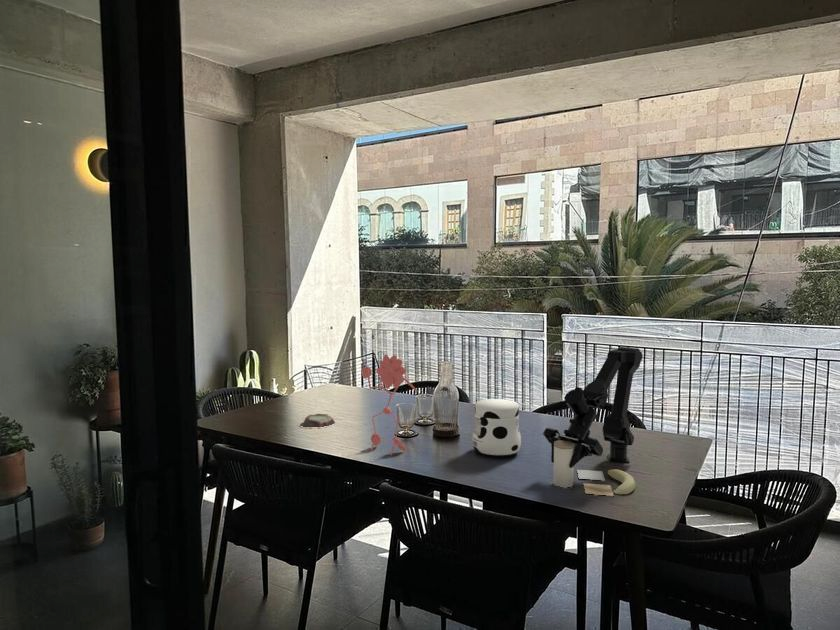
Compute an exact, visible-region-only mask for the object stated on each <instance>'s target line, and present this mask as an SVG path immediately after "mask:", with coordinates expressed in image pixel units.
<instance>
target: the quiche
mask: <svg viewBox="0 0 840 630" xmlns="http://www.w3.org/2000/svg"><path fill="white" fill-rule="evenodd" d="M302 422H303V423H302ZM302 422H300V423H301V424H300V423H299V424H300V426H303V427H324V426H329V425H332V424H334V425H335V424H336V421H335V420H334V418H333V417H332V416H331V415H329V414H328V413H315V414H309V415H307V416H306V417H305V418H304V420H303V421H302ZM300 426H299V427H300ZM332 426H333V425H332ZM303 427H302V428H303ZM329 427H330V426H329ZM324 428H325V427H324Z"/></svg>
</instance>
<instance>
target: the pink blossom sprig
mask: <svg viewBox="0 0 840 630" xmlns="http://www.w3.org/2000/svg"><path fill="white" fill-rule="evenodd" d="M402 364H403V360H402V359H401V358H397V355H396V354H393V355H392V356H391V357H390V356H388V354H384V355H383V359H380V361H379V366H380V367H379V368H377V369H376V373H377V375H379V376H380V379H379V381H380V382H381V383H383V384H382V385H381V386H371V380H370V379H371V378H370V377H371V376H372V373H373V371H372V368H370V367H369V366H368V365H367V366H365V367H363V368H362V369H361V376H362V378H364V379H367V381H368V388H369V389H380V390H383V391H385V392H387V394H389V398H388V403H387V406H385V407H384V408H383V410H382V412H379V413H377V414H376V415H373V416H372V424H373V425H372V426H373V430H374V433H372V435H371V436H370V441H371V443H372V444H371V448H370V451H371V452H372V451H373V449H374V446H375V447H377V446H378V445H380V444H381V442H383V443H384V442H385V443H386V442H387V443H388V442H389V443H393V445H392V449H391V452H390V456H393V453H394V449H395V446H397V447H398V448H399V449H400V450H402V451H403V452H404V453H405V452H406V448H405V445H406V443H405V442H403V441H400V439H398V437H397V436H398V419H397V418H396V417H395V416H394V414H393V413H392V412H391V408H390V406H389V405H390V402H391V398H392V396H394V394H395V393H396V392H397V390H398V388H399V387H400V386H401V384H403V383H404V381H405V383H406V384H408V386H409V387H411V388H412V390H414V391H415V392H417V393H418V392H419V390H417V388H416V387H415V385H413V384H412V383H411V382H410V381H409V380H408V379H406V378H405V377H404V375H405V374H406V373H407V370H406V368H405V367H404V366H402ZM392 386H393V387H394V388H395V389H393V392H391V391H390V390H388V389H390V388H391V387H392ZM383 413H384V414H385V415H389V414H391V416H392V418H394V420H395V422H396V423H395V424H396V425H395V426H396V427H395V436H394V437H393V438H392V441H390V440H383V441H382V438H381V435H380V434H379V433H377V431H376V427H375V421H374V420H375V419H374V418H375V417H377V416H379V415H381V414H383ZM407 444H408V443H407ZM408 446H410V447H412V445H410V444H408ZM405 458H406V459H407V456H406V457H404V459H405Z"/></svg>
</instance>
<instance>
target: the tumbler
mask: <svg viewBox="0 0 840 630" xmlns="http://www.w3.org/2000/svg"><path fill="white" fill-rule="evenodd" d="M573 453H574V443H573V442H570V441H564V440H560V441H555V442H554V463H553V483H554V484H555V485H556V486H560V487H571V486H573V487H574V472H575V467H574V466H575V465H574V466H573V467H572V468H570V467H569V464H570V461H571V458H572V456H573ZM553 483H552V484H553ZM554 484H553V485H554ZM555 485H554V486H555ZM556 486H555V487H556ZM571 488H572V487H571Z"/></svg>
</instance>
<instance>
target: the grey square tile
mask: <svg viewBox="0 0 840 630" xmlns="http://www.w3.org/2000/svg"><path fill="white" fill-rule="evenodd" d="M576 473H578V474H577V478H579V479H590V480H589V481H592V480H601V481H600V482H606V479H605V476H604V473H603V471H602V470H589V469H588V470H587V469H576ZM579 479H578V480H579Z"/></svg>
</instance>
